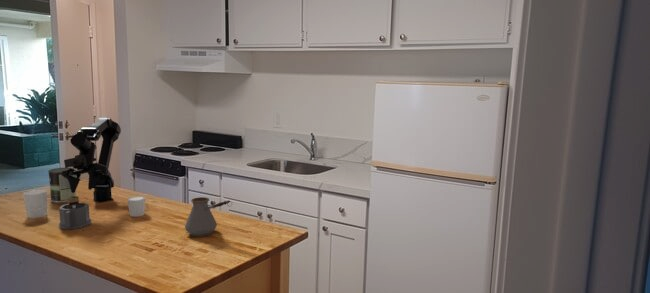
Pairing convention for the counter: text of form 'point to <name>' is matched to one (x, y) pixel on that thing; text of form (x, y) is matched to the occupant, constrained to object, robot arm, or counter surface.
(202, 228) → the coffee pot
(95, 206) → the counter surface
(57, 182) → the coffee can
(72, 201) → the plunger
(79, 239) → the counter surface
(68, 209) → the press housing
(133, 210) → the shot glass
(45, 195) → the white cup
